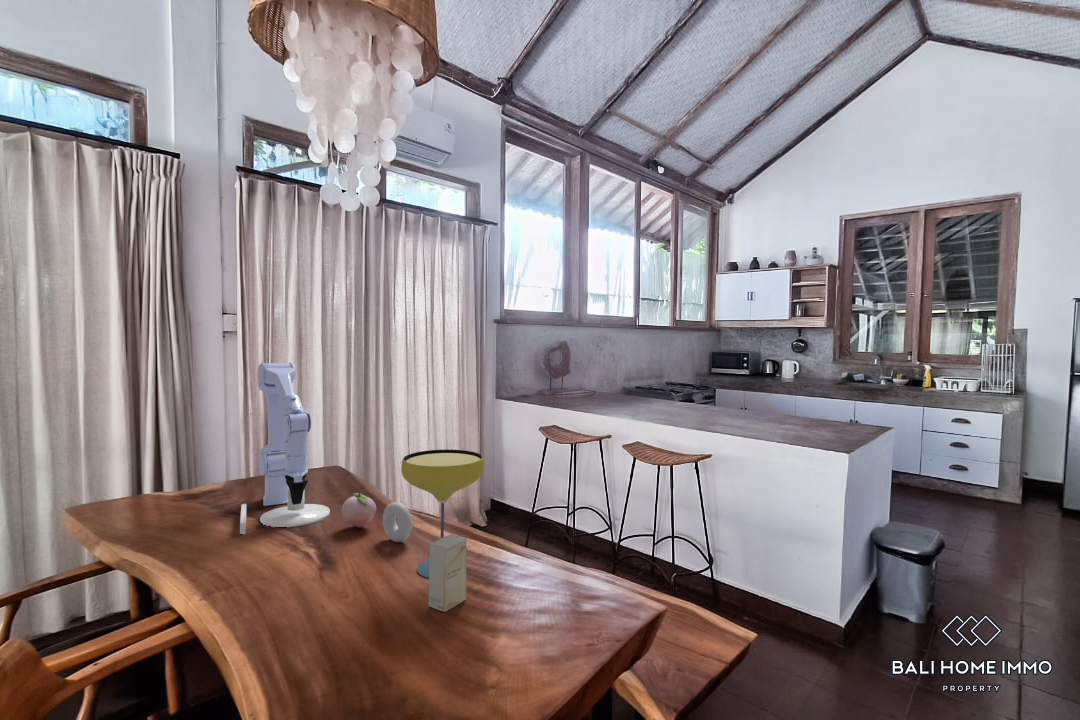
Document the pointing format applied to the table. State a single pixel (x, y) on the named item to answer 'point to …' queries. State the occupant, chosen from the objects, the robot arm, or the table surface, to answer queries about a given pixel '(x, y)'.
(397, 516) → the donut
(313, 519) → the white plate
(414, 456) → the cocktail glass
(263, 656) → the table surface
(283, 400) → the robot arm
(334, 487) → the table surface
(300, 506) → the green cylinder
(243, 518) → the light grey rectangular bar
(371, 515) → the decorative fruit
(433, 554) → the skincare box
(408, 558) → the table surface
